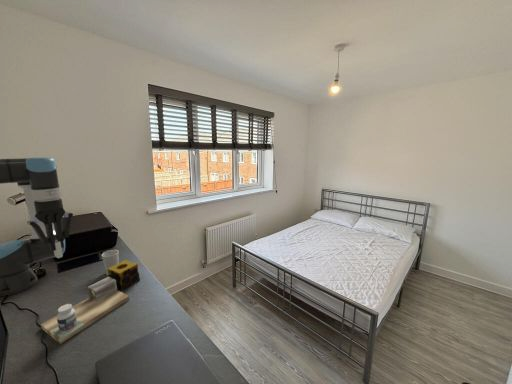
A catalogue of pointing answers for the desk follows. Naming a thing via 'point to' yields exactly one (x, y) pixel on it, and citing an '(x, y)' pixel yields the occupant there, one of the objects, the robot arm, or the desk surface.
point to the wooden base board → (89, 309)
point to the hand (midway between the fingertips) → (58, 256)
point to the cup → (110, 259)
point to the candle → (124, 274)
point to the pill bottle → (66, 318)
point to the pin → (91, 294)
